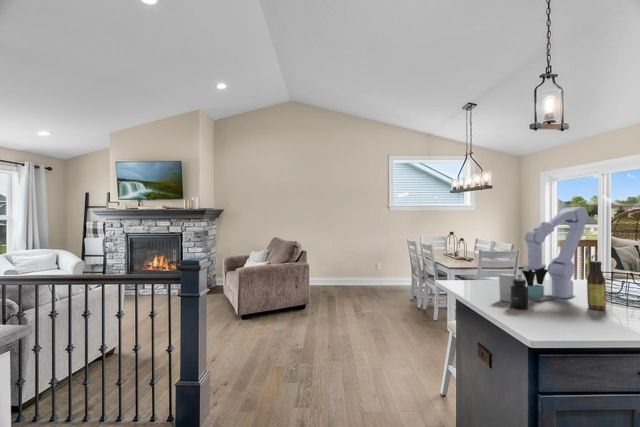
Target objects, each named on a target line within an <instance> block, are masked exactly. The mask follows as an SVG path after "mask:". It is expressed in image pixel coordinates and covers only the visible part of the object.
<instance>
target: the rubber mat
mask: <svg viewBox="0 0 640 427" xmlns="http://www.w3.org/2000/svg"><path fill="white" fill-rule="evenodd" d="M553 300H556V297H554V296H548V294H544V296H543V297H538V298H536V297H531V296H529V298H528V301H531V302H532V301H533V302H538V303H543V302H549V301H553Z"/></svg>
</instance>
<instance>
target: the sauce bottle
mask: <svg viewBox="0 0 640 427" xmlns="http://www.w3.org/2000/svg"><path fill="white" fill-rule="evenodd" d="M602 263H603V262H602V261H600V260H590V261H589V268H590V269H589V271H590V272H589V274H588V275H587V277H586V278H587V280H586V281H587V283H586V292H587V293H586V294H587V295H586V296H587V298H586V299H587V307H588V308H589V309H591V310H597V311H604V310H606V308H607V292H606V287H607V286H606V279H605V277H604V274H603V272H602V265H603V264H602Z"/></svg>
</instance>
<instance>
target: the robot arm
mask: <svg viewBox="0 0 640 427" xmlns="http://www.w3.org/2000/svg"><path fill="white" fill-rule="evenodd" d="M589 216H590V215H589V213H588V210H587V209H586V207H584V206H579V207H577V206H576V207H573V206H572V207H563V208H561V209H560V210H559V212H558V214H556V215H555V216H553V218H552V219H550V220H549V221H542V222H540V225H538V226H537V227H535V228H533V230H529V231H527V232H526V233H525V236H524V240H525V242H526V246H527V264H525V266H523V269H522V270H521V273H522V274H523V276H524V278H525V280H526V286H527V285H528V286H533V284H535V283H534V280H535V277H536V285H542V286H543V284H544V279H545V276H546V275H547V273H548V274H549V277H550V278H551V293H548V294H547V296H553V297H555V298H559V299H560V298H561V299H568V298H574V297H576V295H574V282H573V280H572V278H573V275H574V272H575V266H576V265H575V264H574V262H573V261H572V260H573V257H574V255H575V253H576V250H577V248H578V245H579V243H580V240H581V238H582V235H583V233H584V231H585V227H586V223H587V220H588V218H589ZM564 222H565V224H566V225H567V226H569V230H568V232H567V234H566V237H565V240H564V242H563V245H562V247H561V249H560V252H559V254H558V256H557V257H555V258H552V261H551V262H550V263H549V264H548V266H546V265H547V264H543V255H542V254H543V249H542V248H543V243H544V242H545V240H546V238H547V237H549V235H550V234H552V233H553V232H554V231H555V228H556V227H558V226H559V225H561V224H562V223H564Z"/></svg>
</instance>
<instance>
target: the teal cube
mask: <svg viewBox="0 0 640 427" xmlns="http://www.w3.org/2000/svg"><path fill="white" fill-rule="evenodd" d="M526 287H528V289H529V296H531V297H536V298H538V297H543V296H544V295H545V294H544V291H545V289H544V287H545V286H544V285H543V284H542V285H541V284H537V283H536V284H535V283H533V286H528V285H527V284H526Z"/></svg>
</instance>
